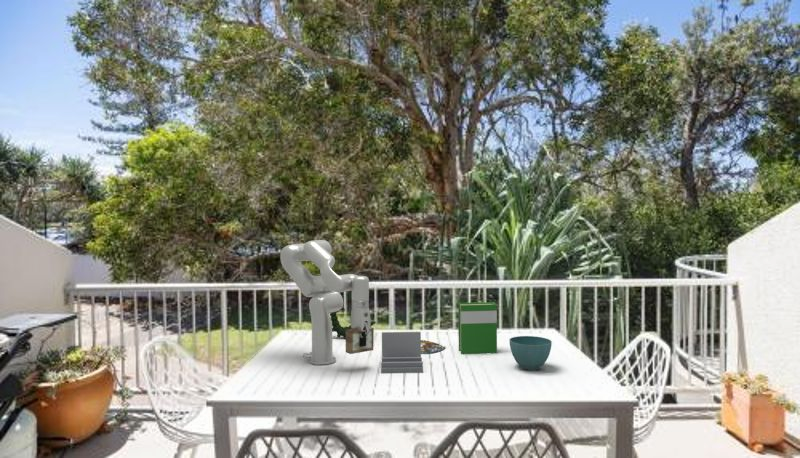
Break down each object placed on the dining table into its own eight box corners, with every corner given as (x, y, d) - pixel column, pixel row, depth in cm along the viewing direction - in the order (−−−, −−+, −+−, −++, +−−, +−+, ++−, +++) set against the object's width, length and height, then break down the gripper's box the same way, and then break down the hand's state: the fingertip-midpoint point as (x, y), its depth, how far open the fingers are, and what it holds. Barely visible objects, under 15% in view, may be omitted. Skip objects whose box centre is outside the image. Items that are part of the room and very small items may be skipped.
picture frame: (350, 354, 239) (350, 331, 239) (345, 352, 243) (345, 329, 242) (373, 350, 246) (373, 328, 246) (368, 348, 250) (368, 326, 249)
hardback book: (461, 354, 269) (460, 305, 268) (458, 350, 276) (458, 302, 275) (497, 353, 270) (496, 304, 269) (493, 349, 277) (493, 302, 277)
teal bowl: (524, 359, 257) (524, 333, 257) (559, 367, 244) (559, 340, 244) (501, 367, 244) (501, 340, 244) (537, 376, 231) (537, 347, 231)
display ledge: (381, 373, 238) (381, 340, 238) (382, 362, 256) (381, 332, 256) (422, 372, 239) (422, 340, 238) (420, 361, 256) (420, 331, 256)
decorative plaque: (393, 336, 301) (448, 337, 295) (393, 341, 301) (448, 342, 295) (381, 351, 272) (441, 352, 266) (381, 356, 272) (441, 357, 266)
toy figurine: (332, 343, 301) (377, 338, 302) (328, 309, 301) (373, 304, 301) (333, 339, 311) (377, 334, 311) (330, 306, 310) (374, 301, 311)
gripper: (377, 306, 239) (377, 348, 240) (357, 300, 252) (357, 339, 253) (363, 308, 234) (362, 350, 235) (343, 302, 248) (342, 342, 249)
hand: (359, 344), depth 244 cm, fingers closed on picture frame, 4 cm apart
